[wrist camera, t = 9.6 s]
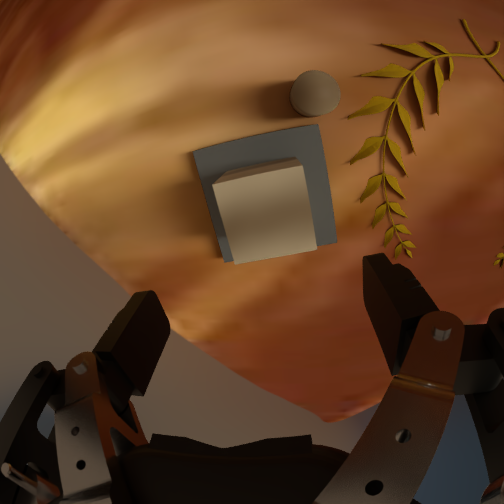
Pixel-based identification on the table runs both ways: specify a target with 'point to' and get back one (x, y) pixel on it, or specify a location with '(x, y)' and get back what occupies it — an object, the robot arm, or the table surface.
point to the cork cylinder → (314, 94)
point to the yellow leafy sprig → (382, 104)
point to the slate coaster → (265, 150)
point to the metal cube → (266, 210)
